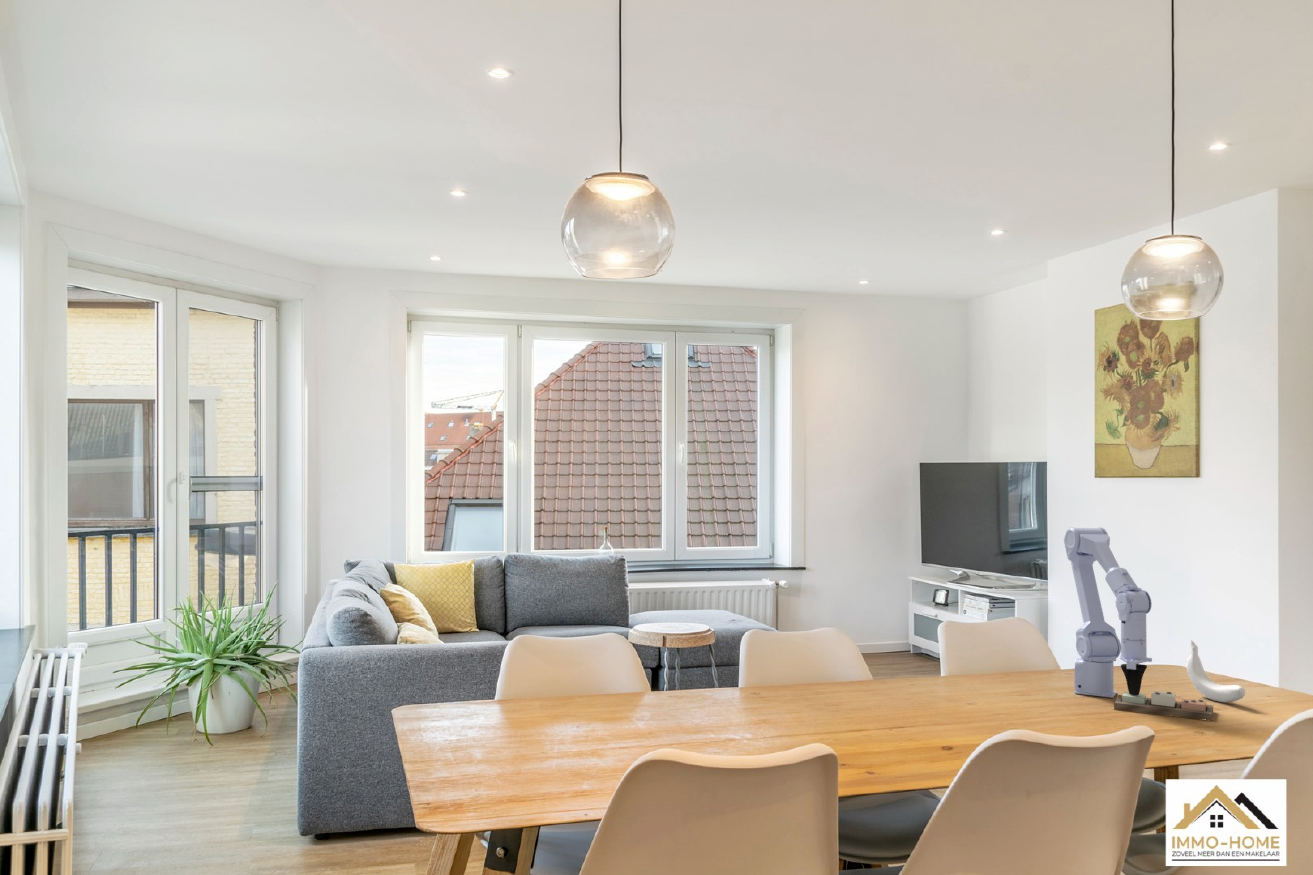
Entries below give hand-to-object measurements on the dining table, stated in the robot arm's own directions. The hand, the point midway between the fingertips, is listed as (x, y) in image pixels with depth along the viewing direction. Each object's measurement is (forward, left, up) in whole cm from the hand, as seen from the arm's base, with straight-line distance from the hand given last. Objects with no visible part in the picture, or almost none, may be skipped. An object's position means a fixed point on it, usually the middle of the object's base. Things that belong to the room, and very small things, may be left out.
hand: (1134, 694), depth 243 cm
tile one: (0, 0, -3) cm, 3 cm away
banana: (+17, +20, -3) cm, 27 cm away
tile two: (+6, 0, -1) cm, 7 cm away
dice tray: (+6, 0, -3) cm, 7 cm away
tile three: (+13, 0, -3) cm, 13 cm away
